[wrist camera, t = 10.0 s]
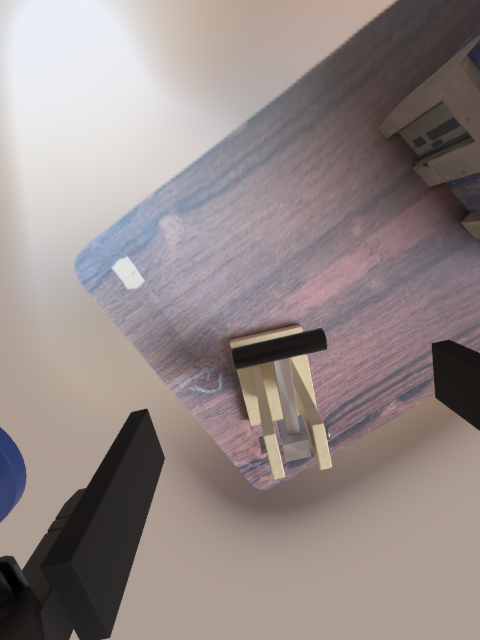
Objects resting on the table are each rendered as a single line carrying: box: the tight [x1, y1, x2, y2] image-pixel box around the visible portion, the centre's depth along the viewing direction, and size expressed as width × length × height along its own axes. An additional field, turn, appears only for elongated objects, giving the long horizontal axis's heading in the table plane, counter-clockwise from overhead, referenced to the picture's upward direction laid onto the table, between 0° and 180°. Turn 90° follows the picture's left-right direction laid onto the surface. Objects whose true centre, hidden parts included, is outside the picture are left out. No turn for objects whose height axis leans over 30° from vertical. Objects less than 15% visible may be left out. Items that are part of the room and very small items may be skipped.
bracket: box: [230, 324, 332, 479], centre depth 31 cm, size 12×9×15 cm
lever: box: [232, 328, 327, 461], centre depth 23 cm, size 13×6×2 cm, turn 13°
